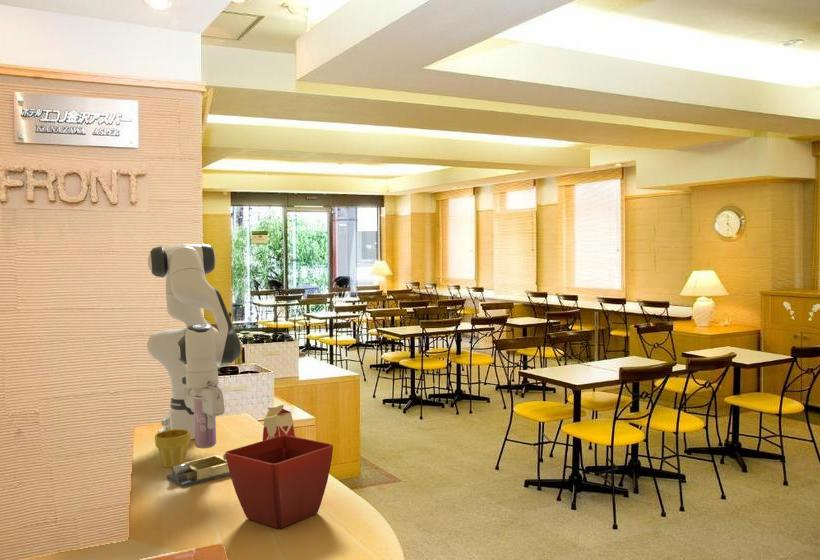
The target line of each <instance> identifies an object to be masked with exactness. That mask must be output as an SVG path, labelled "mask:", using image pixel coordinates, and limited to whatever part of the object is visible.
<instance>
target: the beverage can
mask: <svg viewBox="0 0 820 560" xmlns="http://www.w3.org/2000/svg"><path fill="white" fill-rule="evenodd" d="M201 399H202V398H199V397H198V396H197V397H196V396H194V424H195V439H194V445H195V447H196V448H198V449H210V448H214V447H215V446H216V444H217V423H216V418H215V421H214V428H212V429H208V428H207V427H206V422H207V420H208V417H207V414H205V413H203V412H202V401H201Z"/></svg>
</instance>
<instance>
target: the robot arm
mask: <svg viewBox="0 0 820 560" xmlns="http://www.w3.org/2000/svg"><path fill="white" fill-rule="evenodd" d="M216 264H217V254H216V252H215V250H214V247H212V246H211V244H206V243H200V244H198V243H181V244H172V245H166V246H165V245H164V246H162V245H161V246H160V245H159V246H155V247H152V249H151V250H150V251H149V255H148V257H147V266H148V269H149V270H150V272H151V274H152V275H153V276H155V277H157V278H165V296H166V299H165V300H166V310H167V314H168V315H169V316H170V317H171V318H173V319H175V320H178V321H180V322H181V323H182V322H183V323H184V325H186V327H185V328H171V329H170V328H169V329H162V330H159V331H155V332H152V334H151V335H150V336H149V337H148V340H147V343H146V349H147V352H148V353H149V355H150V356H151V357H152V358H153V359H154V360H156V361H157V362H158V363H160V364H161V365H162V366H163V367H164V368H165V370H166V371H167V373H168V376H169V380H170V387H171V394H172V395H171V398H170V409H169V410H168V412H167V413H166V415H165V416H164V418H163V419H161V425H162V426H164V427H161V428H159V429H158V430H157V434H158V433H160V432H163V431H167V430H174V429H185V430H188V431H190V440H195V424H194V396H196V397H197V396H198V397H199V398H202V399H201V401H202V412H203V413H205V414H207V417H208V420H207V422H206V427H207V428H208V429H212V428H214V421H215V419H216V417H218V416H222V415H224V414H225V409H226V408H225V400H224V394H223V390H222V389H221V388H220V387H219V367H218V365H217V364H233V362H235V361H237V359H238V358H239V357H240V355H241V354H242V343H241V341H240V337H239V336H238V335H239V334H238V333H237V332H236V330H235V327H234V325H233V323H232V320H231V318H230V315H229V311H228V309H227V307H226V304H225V302H224V299H223V297H222V295H221V293H220V291H219V290H218V289H217V288H215V287H213V286H212V285H211V284H210V283H209V282H208V279H207V277H206V274H210V273H211V272H213V271H214V270H215V266H216ZM201 309H203V310H206V311H208V312H210V313H211V315H212V316H213V318H214V321H215V323H216V326H217V327H216V328H215V327H214V326H212V325H211V324H210V323H209V322H208V321H207V320H206V319H205V317H204V315H203V313H202V310H201Z"/></svg>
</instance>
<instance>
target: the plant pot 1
mask: <svg viewBox="0 0 820 560" xmlns="http://www.w3.org/2000/svg"><path fill="white" fill-rule="evenodd" d="M154 441H155V444H154V445H155V447H156V448H157V449H158V453H159V456H160V460H161V464H162V466H163V467H164V468H173V466H176V465H181V463H184V462H186V458H187V454H188V453H187V452H188V448H189V444H190V443H191V439H190V431H188V430H185V429H174V430H167V431H163V432H160V433H158V432H157V433H156V434H155V436H154Z"/></svg>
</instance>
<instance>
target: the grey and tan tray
mask: <svg viewBox="0 0 820 560" xmlns="http://www.w3.org/2000/svg"><path fill="white" fill-rule="evenodd" d="M171 469H172V471H171V473H169V474H167V475H166V479H168V480H169V481H171V482H173V483H174V484H175V485H178V486H180V487H181V488H186V487H190V486H195V485H199V484H202V483H206V482H210V481H213V480H218V479H221V478H225V477H228V476H230V472H229V468H228V464H227V459H226V454H225V453H224V454H223V455H219V454H213V455H210V456H206V457H205V456H204V457H202V458H201V457H200V458H197V459H193V460H189V461H185V462H184V463H181V465H176V466H173V467H171Z"/></svg>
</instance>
